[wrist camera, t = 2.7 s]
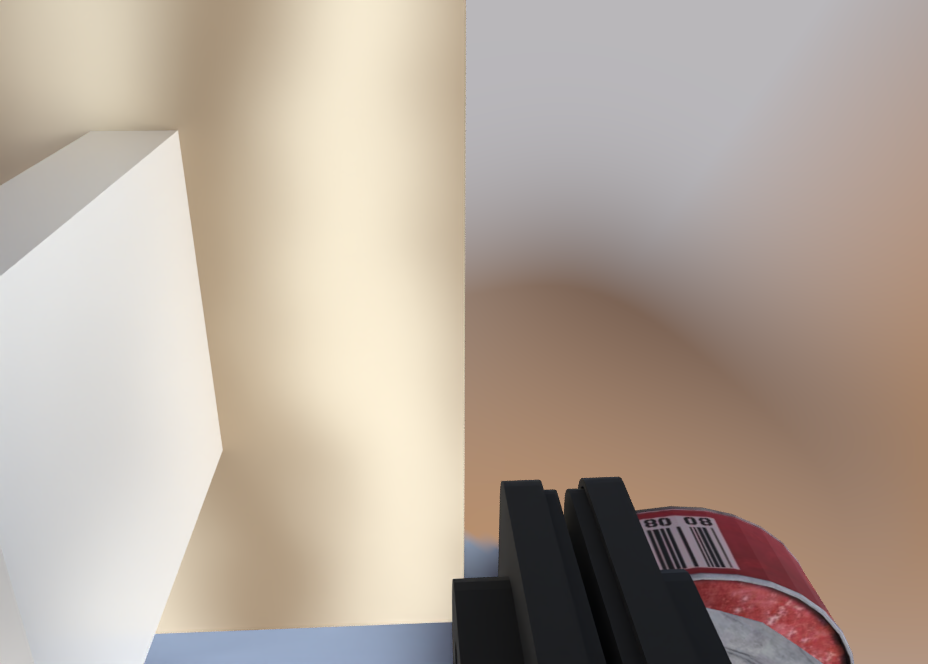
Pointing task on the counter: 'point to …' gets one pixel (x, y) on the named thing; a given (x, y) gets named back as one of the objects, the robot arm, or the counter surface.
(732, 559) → the canned food
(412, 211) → the board
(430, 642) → the counter surface
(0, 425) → the block
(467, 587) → the robot arm
